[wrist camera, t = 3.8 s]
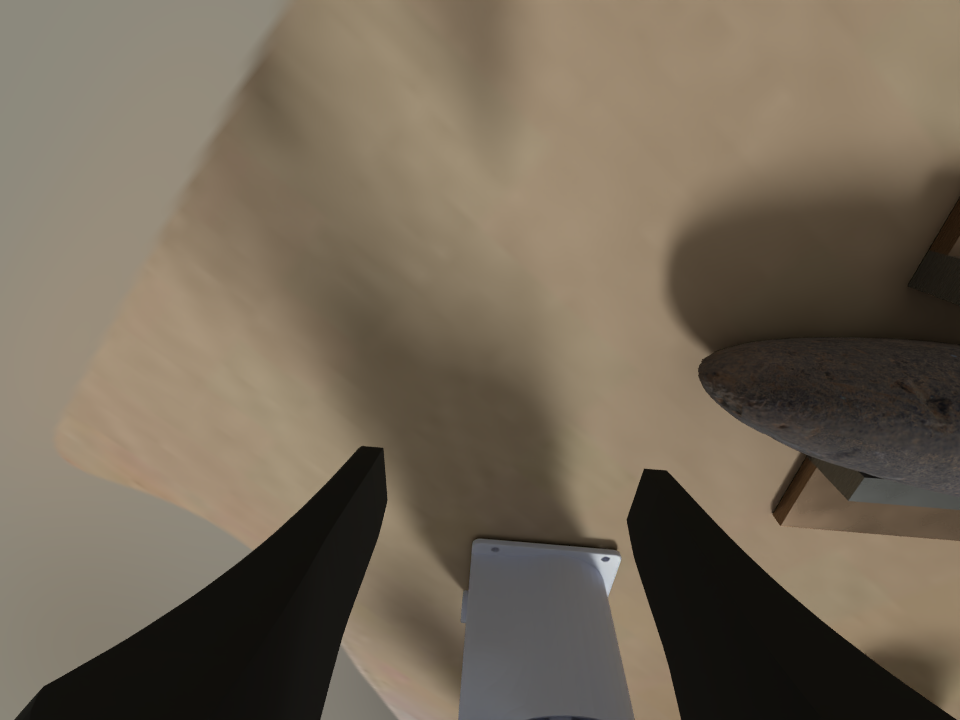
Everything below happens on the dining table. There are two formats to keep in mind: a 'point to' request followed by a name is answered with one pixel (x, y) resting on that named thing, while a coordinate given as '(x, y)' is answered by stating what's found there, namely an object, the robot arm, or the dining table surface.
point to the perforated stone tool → (850, 402)
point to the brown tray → (866, 498)
